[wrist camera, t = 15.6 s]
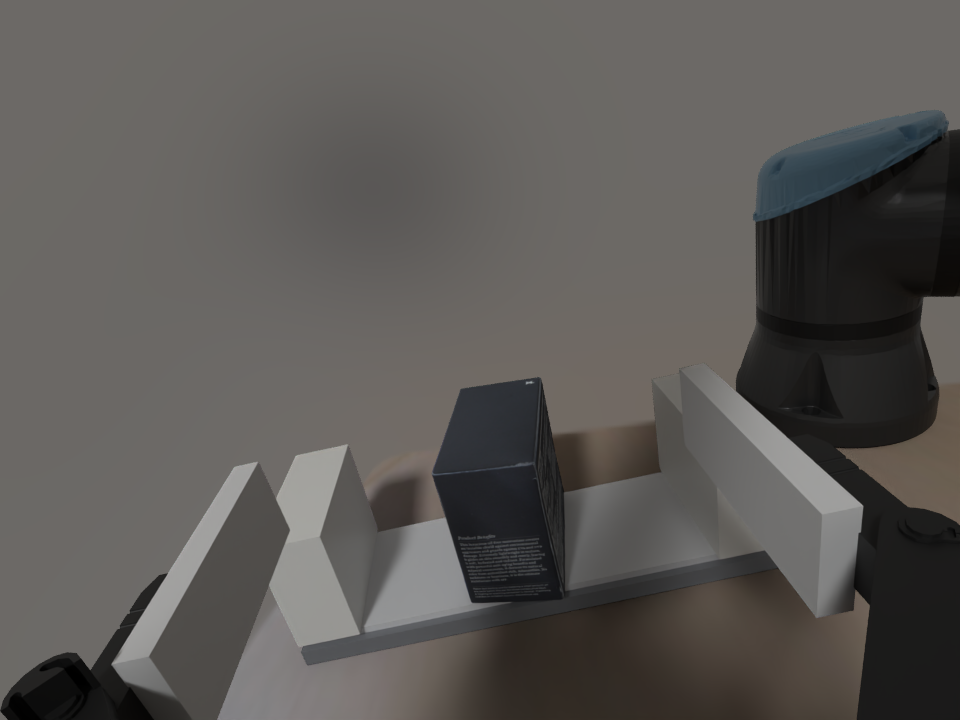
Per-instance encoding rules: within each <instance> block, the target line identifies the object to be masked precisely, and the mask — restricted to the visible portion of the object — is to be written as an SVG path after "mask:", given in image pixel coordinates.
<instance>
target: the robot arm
mask: <svg viewBox="0 0 960 720" xmlns="http://www.w3.org/2000/svg"><path fill="white" fill-rule="evenodd" d="M948 124H949V122H948V121H947V120H946V117H945V114H944V113H943V112H942V111H938V110H932V111H922V112H917V113H914V114H907V115H904V116H895V117H891V118H886V119H882V120H878V121H874V122H869V123H866V124H862V125H858V126H854V127H851V128H847V129H843V130H840V131H837V132H833V133H829V134H826V135H823V136H820V137H817V138H813V139H810V140H808V141H804V142H802V143H799V144H796V145H794V146H791V147H789V148H786V149H784V150H782V151H780V152H778V153H776V154H775V155H773V156H772V157H771V158H769V159H768V160H767V161H766V162H765V163H764V165H763V166H762V168H761V170H760V172H759V175H758V182H757V198H756V211H755V212H754V214H753V220H755V221H756V305H757V306H756V326H755V330H754V332H753V335H752V338H751V340H750V342H749V345H748V347H747V350H746V353H745V356H744V359H743V362H742V364H741V367H740V369H739V371H738V374H737V378H736V391H735V390H734V389H733V388H732V387H731V386H729V385H728V384H727V383H726V382H725V381H724V380H723V379H722V378H720V377H719V376H718V375H717V374H716V373H715V372H714V371H713V370H712V369H710V368H709V367H708V366H707V365H706V364H705V363H702V364H697V365H693V366H688V367H684V368H679V373H680V387H681V401H682V414H683V428H684V442H685V446H686V447H687V448H688V450H689V451H690V452H691V454H692V455H693V456H694V457H695V459H696V460H697V461H698V463H699V464H700V465H701V467H702V468H703V469H704V471H705V472H706V473H707V475H708V476H709V477H710V479H711V480H712V481H713V482H714V484H715V485H716V486H717V488H718V489H719V490H720V492H721V493H722V494H723V496H724V497H725V498H726V500H727V501H728V502H729V504H730V505H731V506H732V507H733V509H734V510H735V511H736V513H737V514H738V515H739V517H740V518H741V519H742V521H743V522H744V523H745V525H746V526H747V527H748V528H749V530H750V531H751V532H752V534H753V535H754V536H755V538H756V539H757V540H758V542H759V543H760V544H761V546H762V547H763V548H764V550H765V551H766V552H767V553H768V555H769V556H770V557H771V559H772V560H773V561H774V563H775V564H776V565H777V567H778V568H779V569H780V571H781V572H782V573H783V575H784V576H785V577H786V578H787V580H788V581H789V582H790V584H791V585H792V586H793V588H794V589H795V590H796V592H797V593H798V594H799V596H800V597H801V598H802V599H803V601H804V602H805V603H806V605H807V606H808V607H809V609H810V610H811V611H812V613H813V614H814V615H815V617H816V618H819V617H824V616H829V615H834V614H838V613H843V612H848V611H853V610H854V599H855V589H856V590H857V591H858V592H859V594H860V595H861V596H862V597H863V598H864V599H865V600H866V601H867V603H868V604H869V605H870V610H869V618H868V627H867V635H866V644H865V653H864V661H863V670H862V678H861V687H860V695H859V704H858V712H857V720H960V525H959V524H958V523H957V522H955V521H953V520H951V519H949V518H948V517H946V516H944V515H942V514H939V513H936V512H933V511H929V510H926V509H920V508H910V507H907V506H906V505H905V504H903V503H902V502H901V501H900V500H899V499H897V498H896V497H895V496H894V495H892V494H891V493H890V492H889V491H887V490H886V489H885V488H884V487H883V486H881V485H880V484H879V483H878V482H876V481H875V480H874V479H873V478H872V477H870V476H869V475H868V474H867V473H865V472H864V471H863V470H859V467H858V466H857V465H856V464H854V463H853V462H852V461H851V460H849V459H846V456H845V455H843V454H842V453H841V452H840V451H838V450H837V449H836V448H835V447H848V448H858V447H874V446H883V445H889V444H894V443H898V442H902V441H905V440H908V439H911V438H913V437H915V436H917V435H919V434H921V433H923V432H924V431H926V430H927V429H928V428H929V427H930V426H931V425H932V424H933V422H934V421H935V418H936V414H937V407H938V400H939V386H938V382H937V380H936V377H935V376H934V372H933V368H932V364H931V360H930V357H929V354H928V350H927V347H926V344H925V341H924V338H923V334H922V331H921V327H920V321H921V313H922V305H923V297H931V296H932V297H934V296H935V297H939V296H940V297H942V296H943V297H944V296H945V297H954V296H960V129H958V130H951V131H947V129H948ZM289 532H290V528H289V526H288V524H287V522H286V520H285V517H284V515H283V513H282V511H281V509H280V507H279V505H278V502H277V500H276V498H275V496H274V494H273V492H272V489H271V487H270V485H269V483H268V481H267V479H266V476H265V475H264V472H263V470H262V468H261V466H260V464H259V462H255V463H250V464H245V465H241V466H236V467H234V469H233V470H232V472H231V474H230V475H229V477H228V478H227V480H226V481H225V483H224V485H223V486H222V488H221V490H220V491H219V493H218V494H217V496H216V498H215V499H214V501H213V502H212V504H211V506H210V507H209V509H208V510H207V512H206V514H205V515H204V517H203V518H202V520H201V522H200V523H199V525H198V526H197V528H196V530H195V531H194V533H193V534H192V536H191V538H190V539H189V541H188V542H187V544H186V546H185V547H184V549H183V550H182V552H181V554H180V555H179V557H178V559H177V560H176V562H175V563H174V565H173V566H172V568H171V570H170V571H169V573H167V574H163V575H159V576H158V577H157V578H156V579H155V580H154V581H153V582H152V583H151V584H150V585H149V586H148V587H147V588H146V589H145V590H144V591H143V592H142V593H141V594H140V596H139V597H138V599H137V600H136V602H135V603H134V605H133V606H132V608H131V609H130V614H127V616H126V617H125V618H124V620H123V622H122V623H121V625H120V629H118V630H117V631H116V632H115V634H114V635H113V637H112V638H111V640H110V641H109V643H108V644H107V646H106V648H105V649H104V650H103V652H102V654H101V655H100V657H99V658H98V660H97V661H96V663H95V664H94V666H93V667H92V669H91V670H89V668H88V667H87V666H86V665H85V663H84V662H83V660H82V659H81V658H80V657H79V656H78V655H77V653H63V654H61V655H57V656H54V657H52V658H50V659H48V660H46V661H44V662H42V663H41V664H39V665H38V666H36V667H35V668H33V669H32V670H31V671H29V672H28V673H27V674H25V675H24V676H23V677H22V678H21V679H20V680H19V681H18V682H17V683H16V684H15V685H14V686H13V687H12V688H11V690H10V691H9V693H8V694H7V696H6V697H5V698H4V700H3V703H2V707H1V710H0V711H1V713H2V714H3V715H4V716H5V717H6V718H7V719H8V720H217V718H218V716H219V713H220V710H221V708H222V705H223V703H224V700H225V698H226V695H227V692H228V690H229V687H230V685H231V682H232V679H233V677H234V674H235V672H236V669H237V667H238V664H239V661H240V659H241V656H242V654H243V651H244V648H245V646H246V643H247V641H248V638H249V636H250V633H251V630H252V628H253V625H254V623H255V620H256V617H257V615H258V612H259V609H260V607H261V604H262V602H263V599H264V597H265V594H266V591H267V589H268V586H269V584H270V581H271V579H272V576H273V573H274V571H275V568H276V566H277V563H278V561H279V558H280V555H281V553H282V550H283V548H284V545H285V542H286V540H287V537H288V535H289Z"/></svg>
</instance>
